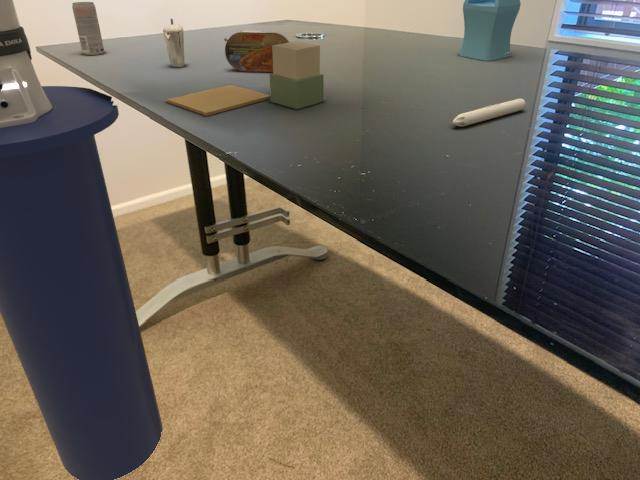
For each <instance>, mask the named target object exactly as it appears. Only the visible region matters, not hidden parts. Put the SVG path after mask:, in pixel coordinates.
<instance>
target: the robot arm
mask: <svg viewBox="0 0 640 480" xmlns="http://www.w3.org/2000/svg"><path fill="white" fill-rule="evenodd" d="M31 53H32V52H31V47H30V43H29V40H28V37H27V35H26V32H25V29H24V27H22V26H21V24H20V21H19V18H18V14H17V10H16V6H15V3H14V0H0V128H4V127H10V126H16V125H22V124H28V123H33V122H35V121H36V120H37V119H38V118H39V117H40V116H41V115H43V114H45V113H47V112H49V111H50V110H51V109H52V108H53V106H52V104H51V103H50V101H49V99H48V98H47V96H46V94H45V92H44V90H43V88H42V86H43V85H42V84H41V82H40V80H39V77H38V75H37V73H36V70H35V68H34V66H33V63H32V59H33V58H32V54H31Z"/></svg>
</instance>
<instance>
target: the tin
mask: <svg viewBox="0 0 640 480" xmlns="http://www.w3.org/2000/svg"><path fill="white" fill-rule="evenodd" d="M228 38H229V39H228V41H226V43H225V46H224V55H225V59H226V61H227V62H228V64H229V65H230V67H232V68H233V69H235V70H236V71H239V72H241V73H247V72H248V73H250V72H251V73H252V72H253V73H273V53H272V45H278V44H283V43H289V42H290V41H289V39H288V38H286V37H285V36H284V35H283V34H281V33H278V32H267V31H265V32H264V31H262V32H242V31H239V32H236V33H233V34H232V35H230V36H229V37H228Z"/></svg>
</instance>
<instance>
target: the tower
mask: <svg viewBox="0 0 640 480" xmlns="http://www.w3.org/2000/svg"><path fill="white" fill-rule="evenodd" d="M272 53H273V72H272V73H270V74H269V92H270V94H269V95H270V96H271V99H270V102H271V103H274V104H278V105H281V106H284V107H287V108H292V109H295V110H300V109H303V108H307V107H310V106H313V105H317V104H320V103H323V102H324V79H325V78H324V77H325V76H324V74H323V73H321V45H319V44H315V43H308V42H303V41H299V40H298V41H297V40H295V41H289V43H283V44H278V45H272Z"/></svg>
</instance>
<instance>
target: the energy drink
mask: <svg viewBox="0 0 640 480" xmlns="http://www.w3.org/2000/svg"><path fill="white" fill-rule="evenodd" d="M71 8H72V13H73V17H74V21H75V26H76V30H77V35H78V39H79V44H80V48H81V52H82V54H83V55H84V56H98V55H103V54H104V53H105V47H104V42H103V37H102V33H101V28H100V23H99V19H98V18H99V17H98V13H97V9H96V5H95V3H94V2H93V1H75V2H72V5H71Z"/></svg>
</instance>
